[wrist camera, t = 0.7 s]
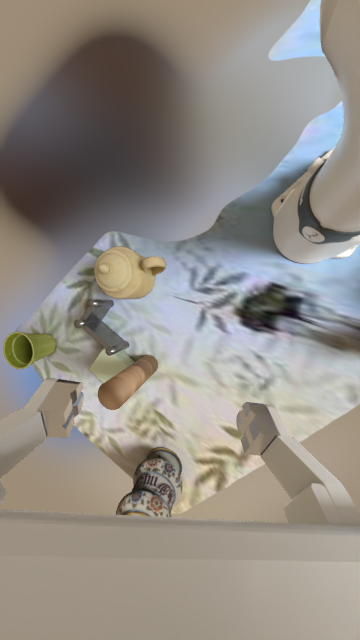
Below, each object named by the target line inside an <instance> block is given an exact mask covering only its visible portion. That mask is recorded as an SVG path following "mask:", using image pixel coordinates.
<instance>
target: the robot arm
mask: <svg viewBox="0 0 360 640" xmlns="http://www.w3.org/2000/svg"><path fill="white" fill-rule="evenodd" d="M320 40H321V48H322V52H323V53H324V55H325V56H326V58H327V60H328V61H329V63H330V65H331V67H332V69H333V71H334V74H335V76H336V78H337V81H338V84H339V87H340V91H341V95H342V101H343V110H344V124H343V131H342V135H341V138H340V140H339V141H338V143H337V145H336V147H335V148H333V149H331V150H330V151H329V152H328V153H326V154H325V155H324V156H323V157H322V158H319V157H318V158H317V159H316V160H315V161H314V162H313V163H312V164H311V165H310V167H309V168H308V171H307V172H306V173H304V174H303V175H302V176H301V177H300V178H299V179H298V180H297V181H296V182H295V183H293V184H292V185H291V186H290V187H289V188H288V189H287V190H286V191H285V192H284V193H282V194H281V195H280V196H279V197H278V198H277V199H276V200H275V201H274V202H273V203H272V205H271V211H272V214H273V217H274V226H273V237H274V241H275V244H276V246H277V248H278V250H279V251H280V252H281V253H282V254H283V255H284V256H285V257H287V258H288V259H290V260H292V261H295V262H298V263H306V264H308V263H316V262H320V261H323V260H326V259H330V258H337V259H341V258H346V257H348V256H350V255H351V254H352V253H353V251H354V250H355V248H356V246H357V245H358V244H360V0H321V5H320ZM281 200H284V202H283V203H282V202H281ZM82 388H83V383H81V382H75V381H68V380H61V379H54V378H47V379H45V380H44V381H43V383H42V384H41V385H40V386H39V388H38V389H37V391H36V392H35V393H34V395H33V396H32V397H31V399H30V400H29V401H28V403H27V404H26V405H25V407H24V408H23V410H21V409H18V410H17V411H15V412H13V413H12V414H10V415H8V416H7V417H5V418H4V419H2V420H0V479H1V478H2V477H3V476H4V475H5V474H6V473H8V472H9V471H10V470H11V469H12V468H13V467H14V466H15V465H17V464H18V463H19V462H20V461H21V460H22V459H23V458H25V457H26V456H27V455H28V454H29V453H30V452H31V451H33V450H34V449H35V448H36V447H37V446H38V445H39V444H41V443H42V442H43V441H44V440H45V439H46V438H47V437H59V438H68V436H69V434H70V431H71V429H72V427H73V425H74V417H75V416H77V415H78V414H79V412H80V409H81V407H82V403H83V397H84V396H83V393H82V392H81V390H82ZM242 407H243V410H241V411H239V413H238V415H237V420H236V422H237V428H238V431H239V432H240V433H241V434H242V437H241V443H242V446H243V450H244V453H245V454H252V455H260V456H261V458H262V459H263V461H264V462H265V463H266V465H267V466H268V467H269V469H270V470H271V472H272V473H273V474H274V475H275V477H276V478H277V480H278V481H279V482H280V484H281V485H282V487H283V488H284V489H285V491H286V492H287V494H288V495H289V496H290V498H291V499H292V500H290V501H289V502H288V503H287V504H285V506H284V510H285V513H286V516H287V519H288V522H289V523H287V522H265V521H243V520H241V521H240V520H220V519H198V518H175V517H153V516H130V515H108V514H106V515H105V514H85V513H63V512H61V513H60V512H40V511H18V510H16V511H15V510H0V640H360V513H359V511H358V510H357V508H356V506H355V505H354V503H353V501H352V500H351V498H350V496H349V495H348V493H347V491H346V489H345V488H344V486H343V485H342V484H341V483H340V482H339V481H338V480H337V479H336V478H335V477H334V476H333V475H332V474H331V473H330V472H329V471H328V470H327V469H326V468H325V467H324V466H323V465H322V464H321V463H319V461H317V460H316V459H315V458H314V457H313V456H312V455H311V454H310V453H309V452H308V451H307V450H306V449H305V448H304V447H303V446H302V445H301V444H300V443H299V442H298V441H297V440H295V439H294V438H293V437H290V435H289V433H288V431H287V429H286V427H285V425H284V423H283V421H282V419H281V417H280V415H279V413H278V411H277V409H276V407H275V406H274V405H266V404H259V403H250V402H246V403H244V404H243V406H242ZM5 495H6V489H5V487H4V485H3V483H2V482H1V480H0V504H1V502H2V501H3V499H4V497H5Z"/></svg>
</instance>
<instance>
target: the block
mask: <svg viewBox="0 0 360 640" xmlns="http://www.w3.org/2000/svg"><path fill="white" fill-rule="evenodd" d="M134 362H135V361H134V360H132V359H131V358H130V357H129V356H128V355H127V354H126V353H124V352H123V351H119V352H117V353H115V354H113V355H111V356H108V355H107V354H106V349H105V348H103V350H102V351H101V353H100V354H99V356H98V357H97V358H96V360H95V361H94V363H93V364H92V365H91V367H90V368H89V370H90V371H91V372H92V373H93V374H94V375H95V376H96V377H97V378H98V379H100V380H101V381H102V382H103V383H105V382H106V381H108V380H109V379H111V378H112V377H114V376H115V375H117V374H118V373H120V372H121V371H122V370H124V369H125V368H127V367H128V366H130V365H131V364H133V363H134Z"/></svg>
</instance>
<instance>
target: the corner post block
mask: <svg viewBox="0 0 360 640" xmlns="http://www.w3.org/2000/svg"><path fill="white" fill-rule="evenodd" d="M113 305H114V302H113V301H112V300H92V299H91V300H89V301H88V306H89V307H88V309H87V310H86V312H85V313H84V315H83V316H82V318H81V320H76V321H75V323H74V325H75V327H77V328H80V327H82V328H83V329H84V330H85V331H86V332H87V333H89V334H90V335H91V336H92V337H93V338H94V339H95V340H96V341H98V342H99V343H100V344H101V345H102V346H103V347H104V348H105V349H106V354H107V355H108V356H111V355H113V354H115V353H117V352H119V351H122V350H124V349H126V348H128V347H129V343H128V342H127V341H124V340H123V339H122V338H121V337H120V336H119V335H118V334H116V333H115V332H114V331H113V330H112V329H111V328H109V327H108V326H107V325H106V324H105V323H104V322H103V321H102V319H103V318H104V316H105V315H106V313H107V312H108V310H109V309H110V308H111V307H112V306H113Z"/></svg>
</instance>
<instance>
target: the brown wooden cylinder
mask: <svg viewBox="0 0 360 640" xmlns="http://www.w3.org/2000/svg"><path fill="white" fill-rule="evenodd" d="M157 368H158V362H157V360H156V359H155V358H154V357H153V356H151V355H145V356H143V357H142V358H140V359H139V360H137V361H136V362H134V363H133V364H131V365H130V366H128V367H127V368H125V369H124V370H122V371H121V372H120V373H118V374H117V375H115V376H114V377H112V378H111V379H109V380H108V381H106V382H105V383H103V384H102V385H101V386H100V387H99V390H98V398H99V401H100V403H101V404H102V405H103V406H104V407H105V408H107V409H110V410H116V409H118V408H120V407H121V406H122V405H123V404H124V403H125V402H126V401H127V400H128V399H129V398H130V397H131V396H132V395H133V394H134V393H135V392H136V391H137V390H138V389H139V388H140V387H141V385H142V384H143V383H144V382H145V381H146V380H147V379H148V378H149V377H150V376H151V375H152V374H153V373H154V372H155V371H156V370H157Z"/></svg>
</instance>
